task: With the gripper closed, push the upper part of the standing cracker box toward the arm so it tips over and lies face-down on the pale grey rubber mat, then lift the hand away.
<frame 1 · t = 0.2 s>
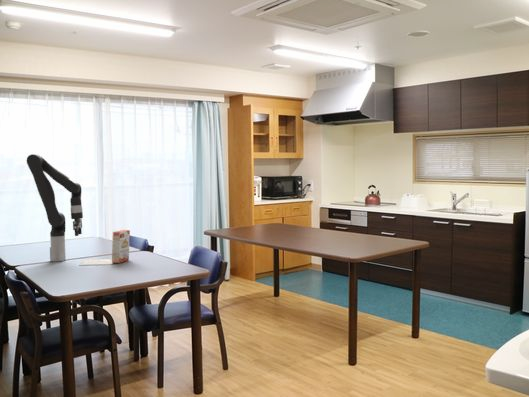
hand: (78, 235, 341), 17 cm above the table, tool pointing down, fingers open, 8 cm apart
cracker box: (120, 261, 334), on the table, touching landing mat
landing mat: (98, 262, 332), on the table
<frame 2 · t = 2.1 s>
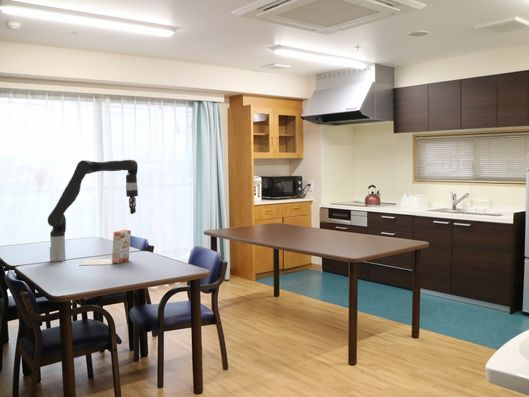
hand: (133, 213, 333), 33 cm above the table, tool pointing down, fingers open, 8 cm apart
nothing on the table moved.
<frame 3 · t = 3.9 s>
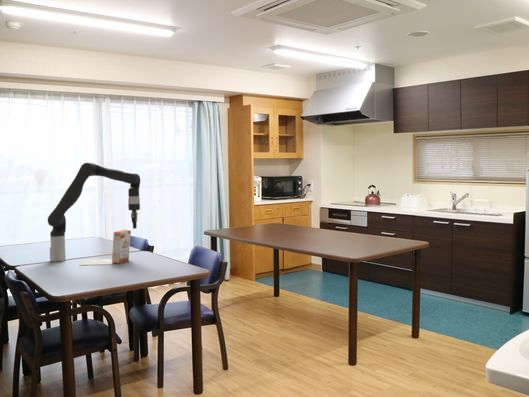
hand: (134, 228, 334), 23 cm above the table, tool pointing down, fingers closed
nothing on the table moved.
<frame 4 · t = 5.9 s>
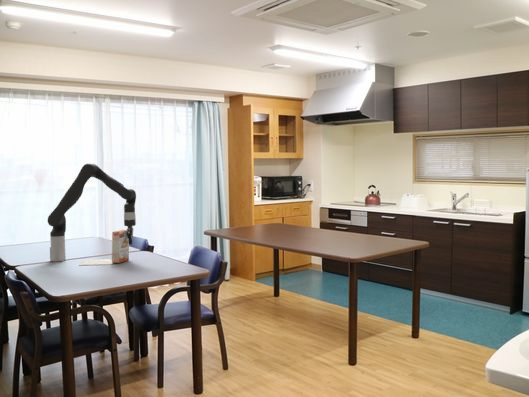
hand: (130, 244, 334), 12 cm above the table, tool pointing down, fingers closed
cracker box: (120, 261, 334), on the table, touching hand, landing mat
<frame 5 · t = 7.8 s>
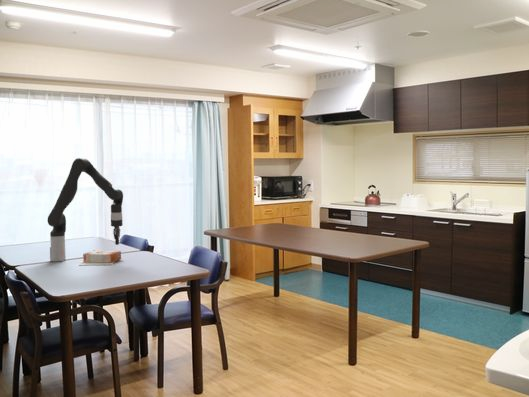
hand: (117, 244, 333), 12 cm above the table, tool pointing down, fingers closed
cracker box: (116, 256, 334), point 3 cm above the table, touching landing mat
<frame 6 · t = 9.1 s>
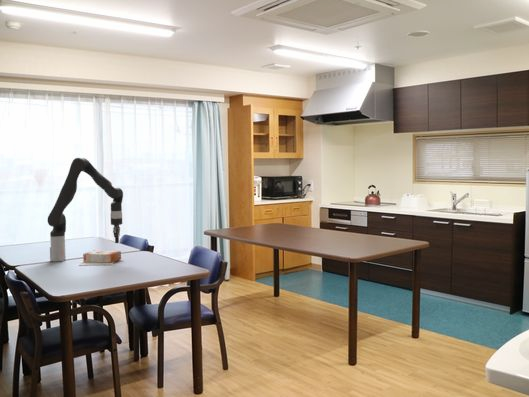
hand: (117, 242, 333), 13 cm above the table, tool pointing down, fingers closed
nothing on the table moved.
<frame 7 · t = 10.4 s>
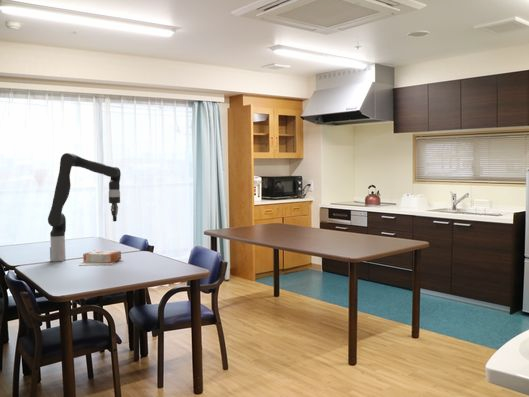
hand: (114, 221, 338), 27 cm above the table, tool pointing down, fingers closed
nothing on the table moved.
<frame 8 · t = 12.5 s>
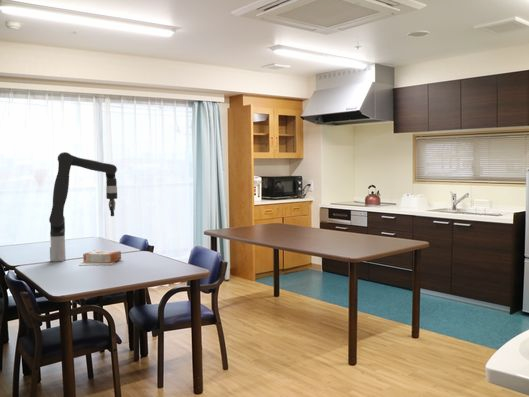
hand: (112, 216, 355), 29 cm above the table, tool pointing down, fingers closed
nothing on the table moved.
at the end: cracker box tilted 91°; cracker box touching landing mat; the gripper is holding nothing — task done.
